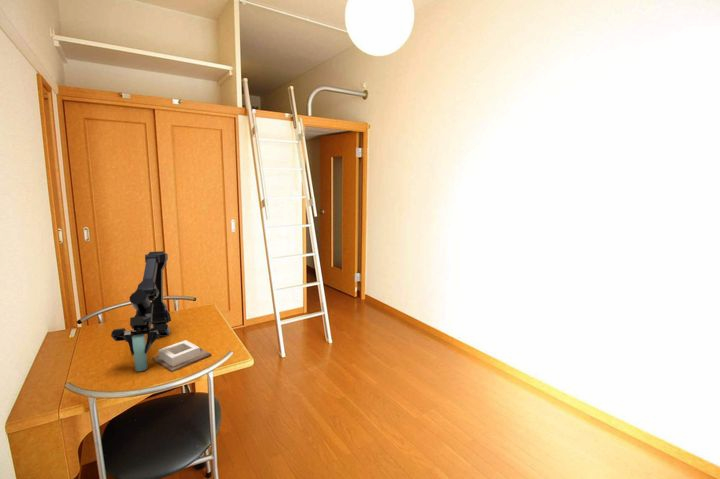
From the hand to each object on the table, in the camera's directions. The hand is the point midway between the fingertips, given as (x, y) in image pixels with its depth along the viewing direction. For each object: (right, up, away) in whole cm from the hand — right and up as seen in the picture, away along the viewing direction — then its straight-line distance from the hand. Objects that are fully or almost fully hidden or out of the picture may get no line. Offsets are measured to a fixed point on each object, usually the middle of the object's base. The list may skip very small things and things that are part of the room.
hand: (139, 354), depth 131 cm
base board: (+10, -5, +11) cm, 16 cm away
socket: (+10, -5, +11) cm, 16 cm away
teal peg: (-1, -6, +2) cm, 7 cm away
